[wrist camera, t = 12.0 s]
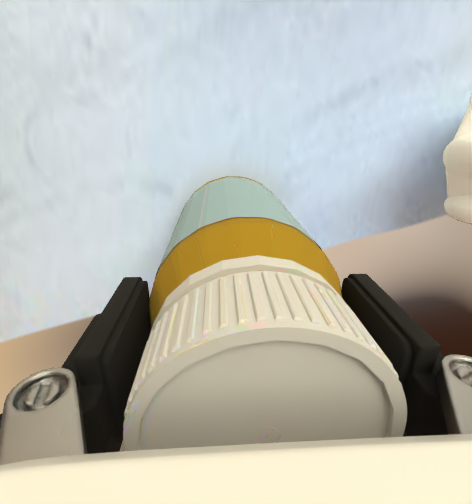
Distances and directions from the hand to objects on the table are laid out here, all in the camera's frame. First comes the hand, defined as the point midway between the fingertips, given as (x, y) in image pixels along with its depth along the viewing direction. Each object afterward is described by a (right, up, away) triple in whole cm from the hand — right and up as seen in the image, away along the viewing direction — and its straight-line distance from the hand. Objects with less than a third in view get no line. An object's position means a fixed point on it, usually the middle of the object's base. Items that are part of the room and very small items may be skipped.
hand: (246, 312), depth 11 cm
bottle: (-1, +4, +10) cm, 10 cm away
